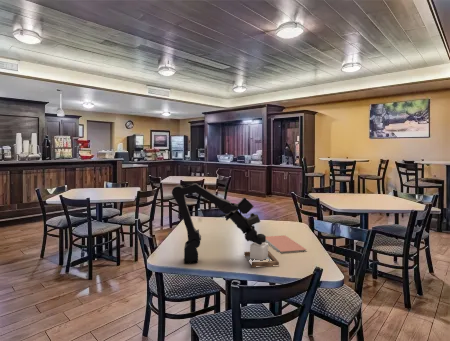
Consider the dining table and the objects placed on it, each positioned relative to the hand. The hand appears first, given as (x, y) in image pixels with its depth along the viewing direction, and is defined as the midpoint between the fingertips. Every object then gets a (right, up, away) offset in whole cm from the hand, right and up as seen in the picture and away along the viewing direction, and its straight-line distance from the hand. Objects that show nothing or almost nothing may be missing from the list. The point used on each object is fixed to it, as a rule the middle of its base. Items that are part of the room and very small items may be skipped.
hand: (260, 242), depth 150 cm
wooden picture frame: (0, -10, +1) cm, 10 cm away
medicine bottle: (-1, -8, +1) cm, 8 cm away
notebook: (+16, -9, +26) cm, 32 cm away
